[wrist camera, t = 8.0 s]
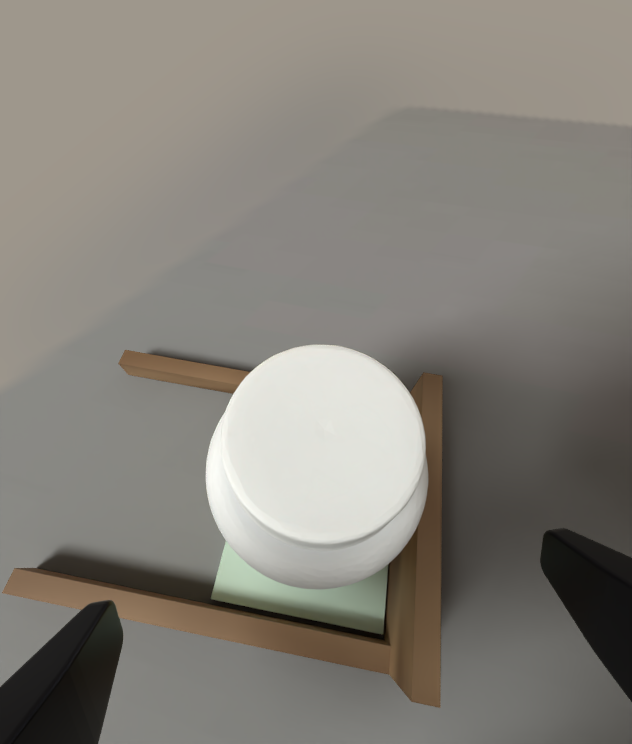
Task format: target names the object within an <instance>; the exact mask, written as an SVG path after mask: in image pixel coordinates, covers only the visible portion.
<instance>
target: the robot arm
mask: <svg viewBox="0 0 632 744" xmlns="http://www.w3.org/2000/svg"><path fill="white" fill-rule="evenodd" d="M540 562H541V567H542V570H543V572H544V574H545V576H546V577H547V579H548V580H549V582H550V583H551V585H552V587H553V588H554V590H555V591H556V593H557V594H558V596H559V598H560V599H561V601H562V602H563V604H564V606H565V607H566V609H567V610H568V612H569V613H570V615H571V617H572V618H573V620H574V621H575V623H576V624H577V626H578V628H579V629H580V631H581V632H582V634H583V636H584V637H585V639H586V640H587V642H588V643H589V645H590V646H591V647H592V649H593V650H594V652H595V653H596V655H597V656H598V657H599V659H600V660H601V662H602V663H603V664H604V666H605V667H606V668H607V670H608V671H609V672H610V674H611V675H612V676H613V678H614V679H615V680H616V682H617V683H618V684H619V686H620V687H621V688H622V690H623V691H624V692H625V694H626V695H627V697H628V698H629V699H630V701H631V702H632V558H631V557H628V556H626V555H624V554H622V553H620V552H617V551H615V550H613V549H611V548H608V547H606V546H604V545H602V544H599V543H597V542H595V541H593V540H591V539H588V538H586V537H584V536H582V535H579V534H577V533H575V532H573V531H570V530H568V529H565V528H560V529H553V530H548V531H546V532H545V533H544V536H543V543H542V550H541V558H540ZM122 644H123V630H122V626H121V622H120V619H119V616H118V612H117V609H116V605H115V603H114V602H113V601H112V600H105V601H99V602H92V603H90V604H88V605H87V606H85V607H84V608H83V609H82V610H81V611H80V612H79V613H78V614H77V615H76V616H75V617H74V618H73V619H72V620H70V621H69V622H68V623H67V624H66V625H65V626H64V627H63V628H62V629H61V630H60V631H59V632H58V633H57V634H56V635H55V636H54V637H52V638H51V639H50V640H49V641H48V642H47V643H46V644H45V645H44V646H43V647H42V648H41V649H40V650H39V651H38V652H37V653H36V654H35V655H33V656H32V657H31V658H30V659H29V660H28V661H27V662H26V663H25V664H24V665H23V666H22V667H21V668H20V669H19V670H18V671H17V672H15V673H14V674H13V675H12V676H11V677H10V678H9V679H8V680H7V681H6V682H5V683H4V684H3V685H2V686H1V687H0V744H98V742H99V738H100V734H101V730H102V726H103V722H104V718H105V714H106V710H107V706H108V702H109V698H110V694H111V689H112V685H113V681H114V677H115V673H116V669H117V665H118V661H119V657H120V653H121V648H122Z"/></svg>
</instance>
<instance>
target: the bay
mask: <svg viewBox="0 0 632 744" xmlns="http://www.w3.org/2000/svg"><path fill="white" fill-rule="evenodd" d="M118 364H119V365H120V366H121V367H122V368H123V369H124V370H125V371H126V373H127V374H128V375H132V376H138V377H144V378H149V379H155V380H160V381H166V382H171V383H177V384H182V385H188V386H194V387H199V388H205V389H210V390H216V391H221V392H227V393H232V394H234V392H235V391H236V389H237V388H238V386H239V385H240V383H241V382H242V381H243V380H244V378H245V377H246V376H247V375H248V374H249V373H250V372H247V371H242V370H236V369H230V368H225V367H219V366H213V365H208V364H202V363H196V362H191V361H185V360H179V359H174V358H168V357H162V356H157V355H151V354H146V353H140V352H134V351H129V350H125V351H124V353H123V355H122V357H121V359H120V361H119V363H118ZM442 377H443V376H441V375H435V374H430V373H424V372H423V374H422V375H421V377H420V378H419V380H418V381H417V383H416V385H415V386H414V388H413V389H412V391H411V392H410V394H411V396H412V397H413V399H414V401H415V403H416V405H417V407H418V410H419V412H420V415H421V418H422V422H423V426H424V431H425V439H426V459H427V465H428V490H427V498H426V502H425V507H424V510H423V513H422V516H421V519H420V521H419V524H418V526H417V528H416V530H415V532H414V534H413V535H412V537H411V539H410V540H409V542H408V543H407V544H406V546H405V547H404V548H403V550H402V551H401V552H400V553H399V554H398V555H397V556H396V557H395V558H394V559H393V560H392V561H391V562H390V563H389V570H388V565H387V566H385V567H384V568H383V569H381V570H380V571H378V572H377V573H375V574H374V575H372V576H370V577H368V578H366V579H364V580H362V581H360V582H357V583H354V584H351V585H347V586H343V587H338V588H332V589H321V590H319V589H303V588H298V587H293V586H289V585H286V584H282V583H279V582H277V581H274V580H272V579H270V578H268V577H266V576H265V575H263V574H261V573H260V572H258V571H256V570H255V569H253V568H252V567H251V566H249V565H248V564H247V563H246V562H245V561H244V560H243V559H242V558H240V557H239V555H238V554H237V553H236V552H235V551H234V550H233V549H232V548H231V547H230V545H229V544H228V542H227V541H226V543H225V547H224V551H223V554H222V558H221V562H220V566H219V569H218V573H217V577H216V581H215V584H214V588H213V592H212V595H211V599H213V600H218V601H222V602H227V603H232V604H237V605H242V606H247V607H252V608H256V609H261V610H266V611H271V612H276V613H281V614H286V615H290V616H295V617H300V618H305V619H310V620H315V621H320V622H324V623H329V624H334V625H339V626H344V627H349V628H354V629H358V630H363V631H368V632H373V633H378V634H383V630H384V640H381V639H376V638H371V637H366V636H362V635H357V634H352V633H347V632H342V631H337V630H333V629H328V628H323V627H318V626H313V625H308V624H304V623H299V622H294V621H289V620H284V619H279V618H274V617H270V616H265V615H260V614H255V613H250V612H245V611H241V610H236V609H231V608H226V607H221V606H216V605H212V604H207V603H202V602H197V601H192V600H187V599H183V598H178V597H173V596H168V595H163V594H158V593H154V592H149V591H144V590H139V589H134V588H129V587H124V586H120V585H115V584H110V583H105V582H100V581H95V580H91V579H86V578H81V577H76V576H71V575H66V574H62V573H57V572H52V571H47V570H42V569H37V568H14V570H13V572H12V574H11V576H10V578H9V580H8V582H7V584H6V586H5V588H4V590H3V592H2V593H5V594H9V595H14V596H19V597H24V598H28V599H33V600H38V601H42V602H47V603H52V604H57V605H61V606H66V607H71V608H76V609H80V610H82V609H83V608H84V607H85V606H87V605H88V604H90V603H92V602H99V601H105V600H112V601H113V602H114V603H115V605H116V609H117V612H118V616H119V618H123V619H128V620H133V621H137V622H142V623H147V624H152V625H156V626H161V627H166V628H171V629H175V630H180V631H185V632H190V633H194V634H199V635H204V636H209V637H213V638H218V639H223V640H228V641H232V642H237V643H242V644H247V645H251V646H256V647H261V648H266V649H270V650H275V651H280V652H285V653H289V654H294V655H299V656H304V657H308V658H313V659H318V660H323V661H327V662H332V663H337V664H342V665H346V666H351V667H356V668H361V669H365V670H370V671H375V672H380V673H384V674H389V675H390V676H391V677H392V679H393V680H394V681H395V682H396V683H397V685H398V686H399V687H400V688H401V689H402V691H403V692H404V693H405V694H406V696H407V697H408V698H409V699H410V700H411V702H416V703H420V704H425V705H430V706H435V707H439V708H440V671H441V524H442ZM387 573H388V585H387ZM386 587H387V599H386ZM385 602H386V614H385ZM384 616H385V629H384Z"/></svg>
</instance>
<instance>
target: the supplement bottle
mask: <svg viewBox="0 0 632 744" xmlns="http://www.w3.org/2000/svg"><path fill="white" fill-rule="evenodd" d="M206 487H207V495H208V500H209V504H210V508H211V511H212V514H213V517H214V519H215V521H216V523H217V526H218V528H219V530H220V531H221V533H222V535H223V536H224V538H225V540H226V541H227V542H228V544H229V545H230V547H231V548H232V549H233V550H234V551H235V552H236V553H237V554H238V555H239V557H240V558H242V559H243V560H244V561H245V562H246V563H247V564H248V565H249V566H251V567H252V568H253V569H255V570H256V571H258V572H260V573H261V574H263V575H265V576H266V577H268V578H270V579H272V580H274V581H277V582H279V583H282V584H286V585H289V586H293V587H298V588H303V589H319V590H321V589H332V588H338V587H343V586H347V585H351V584H354V583H357V582H360V581H362V580H364V579H366V578H368V577H370V576H372V575H374V574H375V573H377V572H378V571H380V570H381V569H383V568H384V567H385V566H387V565H388V564H389V563H390V562H391V561H392V560H393V559H394V558H395V557H396V556H397V555H398V554H399V553H400V552H401V551H402V550H403V548H404V547H405V546H406V544H407V543H408V542H409V540H410V539H411V537H412V535H413V534H414V532H415V530H416V528H417V526H418V524H419V521H420V519H421V516H422V513H423V510H424V507H425V502H426V498H427V490H428V465H427V459H426V439H425V431H424V426H423V422H422V418H421V415H420V412H419V410H418V407H417V405H416V403H415V401H414V399H413V397H412V396H411V394H410V393H409V391H408V390H407V388H406V387H405V386H404V384H403V383H402V382H401V381H400V379H399V378H398V377H397V376H396V375H395V374H394V373H392V372H391V371H390V370H389V369H388V368H387V367H385V366H384V365H383V364H381V363H380V362H378V361H376V360H375V359H373V358H371V357H369V356H367V355H365V354H363V353H360V352H358V351H356V350H353V349H349V348H345V347H341V346H335V345H307V346H301V347H296V348H293V349H289V350H287V351H284V352H281V353H278V354H276V355H274V356H272V357H271V358H269V359H267V360H266V361H264V362H262V363H261V364H260V365H258V366H257V367H256V368H255V369H254V370H253V371H251V372H250V373H249V374H248V375H247V376H246V377H245V378H244V380H243V381H242V382H241V383H240V385H239V386H238V388H237V389H236V391H235V392H234V394H233V396H232V398H231V400H230V402H229V404H228V406H227V409H226V412H225V413H224V415H223V416H222V418H221V420H220V421H219V423H218V425H217V427H216V430H215V432H214V434H213V437H212V440H211V442H210V447H209V451H208V456H207V464H206Z"/></svg>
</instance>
